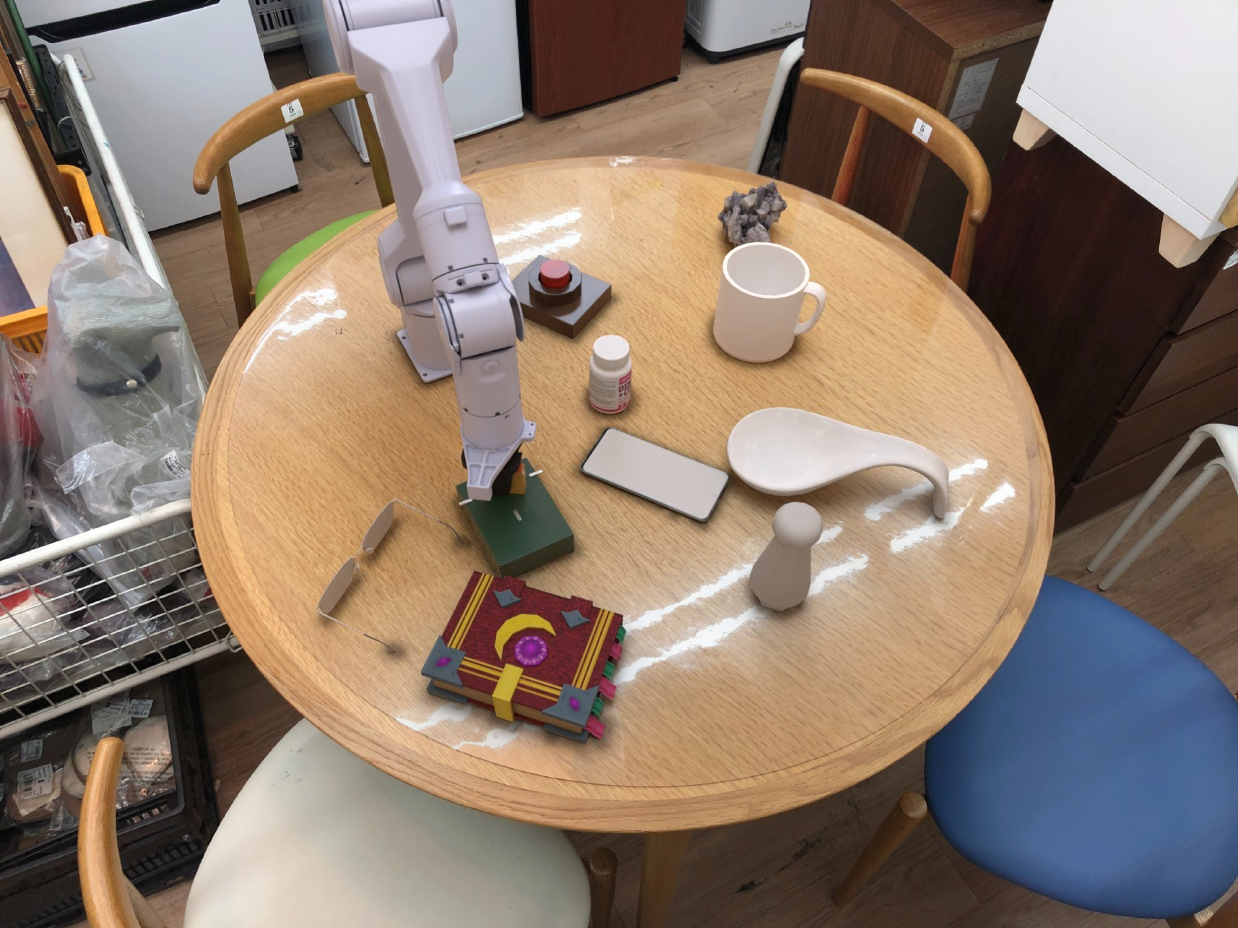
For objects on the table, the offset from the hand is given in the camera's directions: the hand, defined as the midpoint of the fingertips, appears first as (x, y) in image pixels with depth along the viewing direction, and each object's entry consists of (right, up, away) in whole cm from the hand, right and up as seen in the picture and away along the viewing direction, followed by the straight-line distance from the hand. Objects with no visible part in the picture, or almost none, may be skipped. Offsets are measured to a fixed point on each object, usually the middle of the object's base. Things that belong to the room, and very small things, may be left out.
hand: (500, 485), depth 90 cm
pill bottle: (+11, +9, +13) cm, 19 cm away
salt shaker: (+27, -11, -3) cm, 30 cm away
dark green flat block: (+1, -3, +2) cm, 4 cm away
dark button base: (+4, +23, +23) cm, 32 cm away
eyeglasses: (-10, -10, -3) cm, 14 cm away
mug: (+30, +18, +20) cm, 40 cm away
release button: (+4, +25, +20) cm, 32 cm away
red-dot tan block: (0, 0, 0) cm, 0 cm away
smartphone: (+16, +1, +6) cm, 17 cm away
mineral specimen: (+30, +33, +32) cm, 54 cm away
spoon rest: (+35, 0, +6) cm, 36 cm away
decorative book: (+4, -17, -8) cm, 19 cm away
